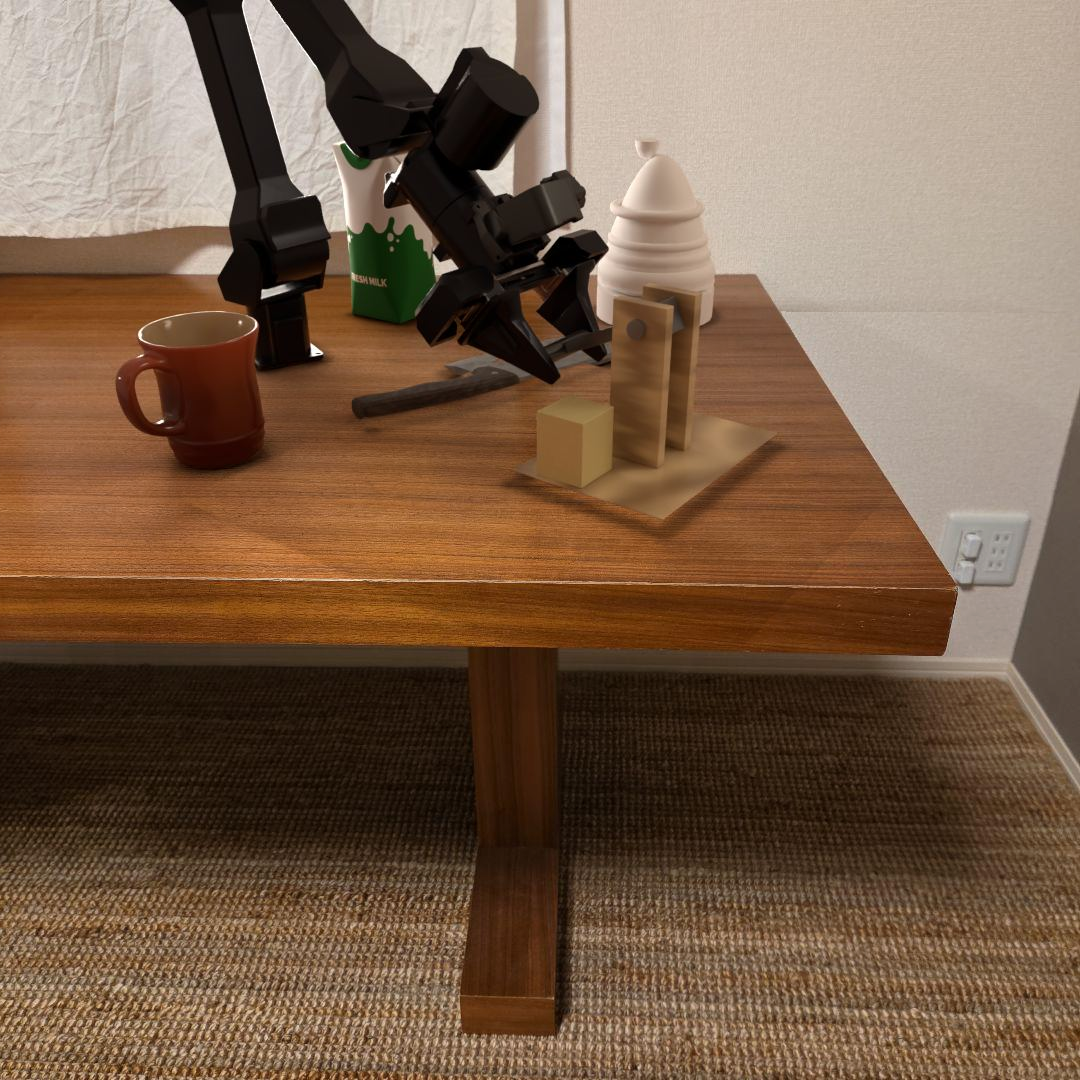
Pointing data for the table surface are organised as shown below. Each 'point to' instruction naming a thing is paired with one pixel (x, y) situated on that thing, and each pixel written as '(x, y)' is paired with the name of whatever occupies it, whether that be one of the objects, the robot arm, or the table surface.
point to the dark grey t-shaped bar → (600, 336)
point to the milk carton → (383, 241)
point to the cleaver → (459, 384)
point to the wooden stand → (660, 411)
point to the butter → (574, 440)
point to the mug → (200, 387)
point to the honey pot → (656, 237)
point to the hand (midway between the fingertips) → (580, 369)
